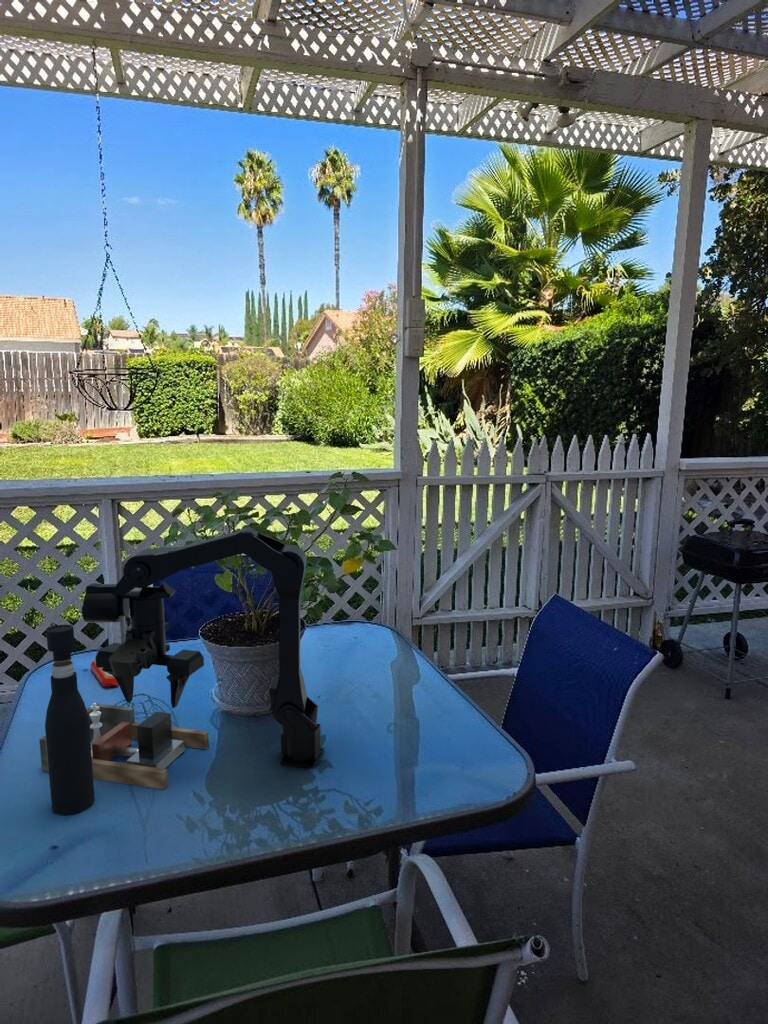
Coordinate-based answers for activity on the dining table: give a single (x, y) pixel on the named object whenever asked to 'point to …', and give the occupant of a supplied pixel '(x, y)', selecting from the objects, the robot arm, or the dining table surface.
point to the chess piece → (95, 723)
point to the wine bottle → (67, 731)
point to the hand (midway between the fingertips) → (151, 704)
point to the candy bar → (103, 676)
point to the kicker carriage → (141, 743)
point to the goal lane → (119, 714)
